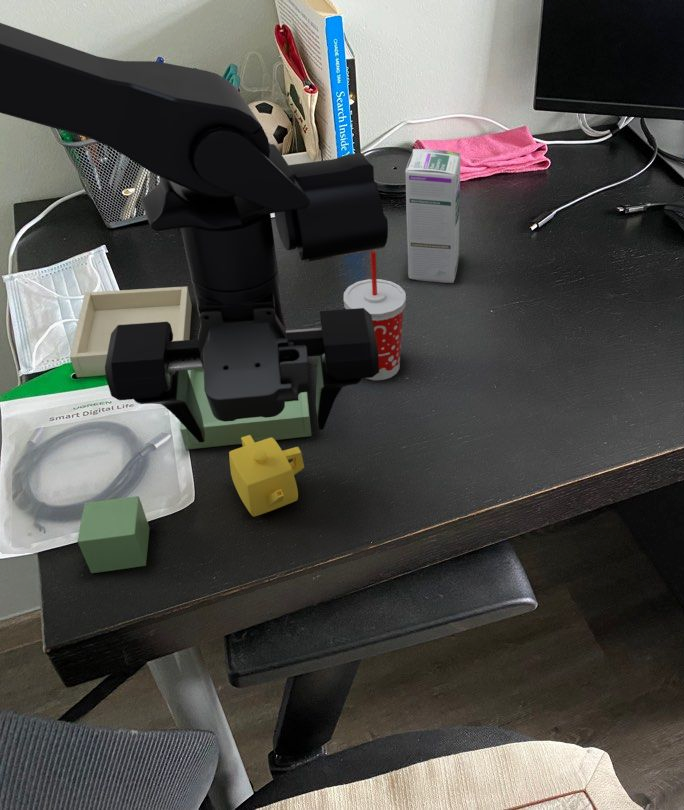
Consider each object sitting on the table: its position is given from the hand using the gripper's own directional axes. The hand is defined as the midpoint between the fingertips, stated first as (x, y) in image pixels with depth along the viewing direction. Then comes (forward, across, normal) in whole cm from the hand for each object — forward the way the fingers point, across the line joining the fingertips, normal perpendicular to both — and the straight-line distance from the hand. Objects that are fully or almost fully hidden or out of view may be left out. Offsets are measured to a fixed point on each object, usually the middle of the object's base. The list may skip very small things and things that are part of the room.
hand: (262, 432), depth 67 cm
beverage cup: (+8, +11, +17) cm, 22 cm away
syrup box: (+8, +20, +35) cm, 41 cm away
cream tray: (+8, -13, +25) cm, 29 cm away
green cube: (+8, -12, -4) cm, 15 cm away
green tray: (+8, -2, +13) cm, 15 cm away
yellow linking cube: (+8, 0, 0) cm, 8 cm away
